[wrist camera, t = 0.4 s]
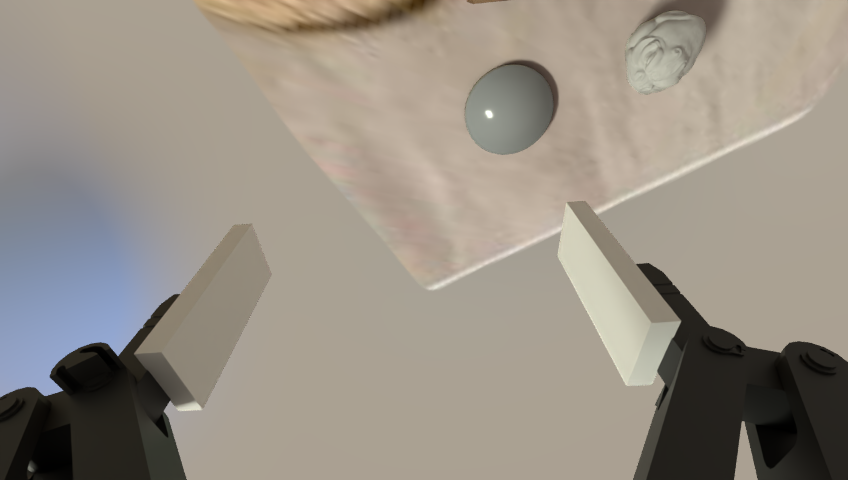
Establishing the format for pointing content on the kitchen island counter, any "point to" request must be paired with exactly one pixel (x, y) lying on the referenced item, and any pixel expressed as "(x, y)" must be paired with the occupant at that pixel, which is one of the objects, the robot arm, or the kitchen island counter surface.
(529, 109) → the grey oval dome
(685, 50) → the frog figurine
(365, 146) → the kitchen island counter surface
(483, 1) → the walnut block
